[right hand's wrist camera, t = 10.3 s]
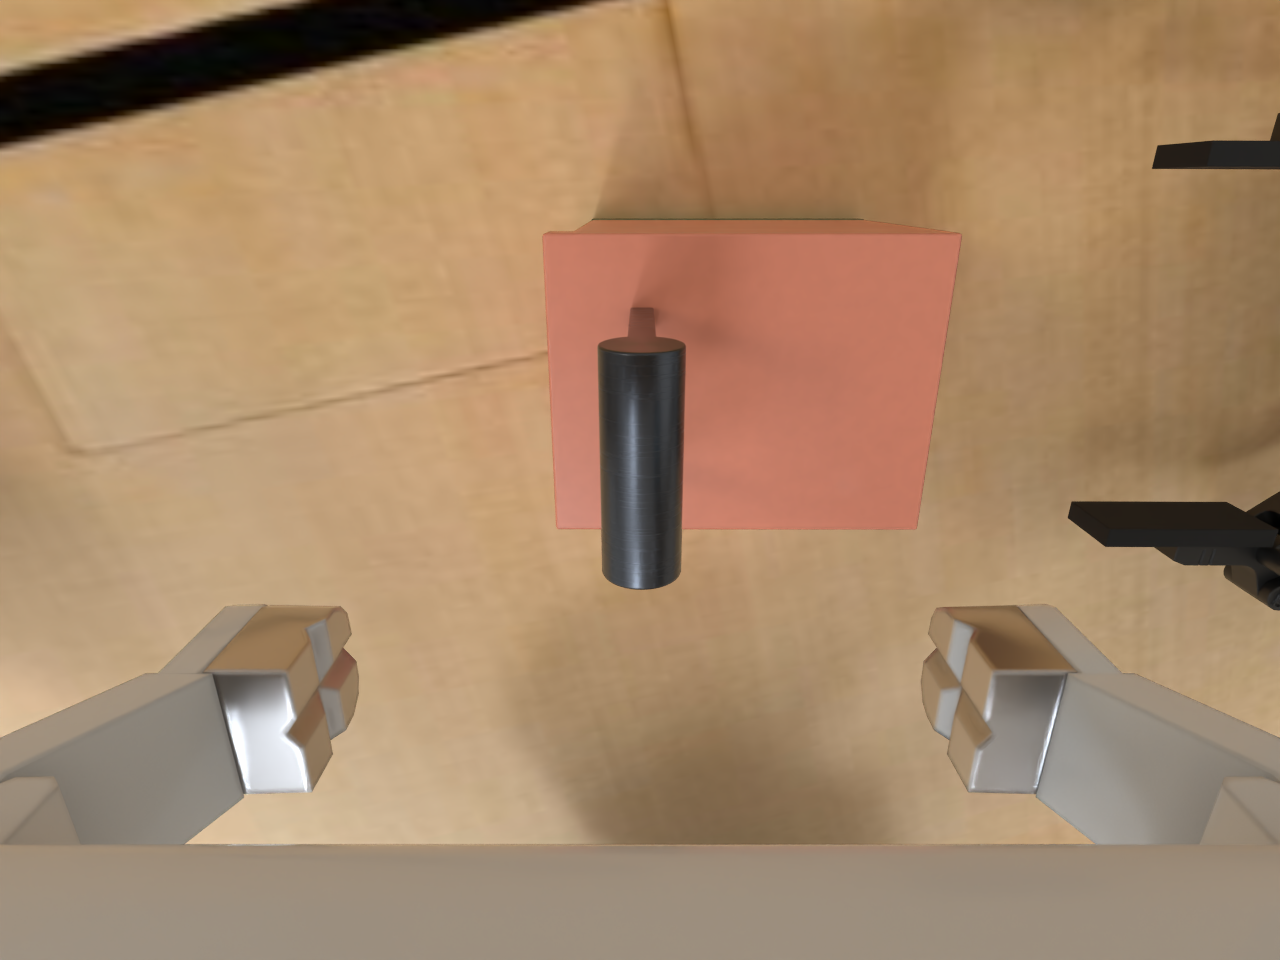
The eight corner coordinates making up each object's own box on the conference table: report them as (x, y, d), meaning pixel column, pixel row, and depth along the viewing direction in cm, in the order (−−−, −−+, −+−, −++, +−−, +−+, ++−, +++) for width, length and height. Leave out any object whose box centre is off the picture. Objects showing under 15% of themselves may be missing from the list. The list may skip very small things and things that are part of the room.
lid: (559, 516, 26) (522, 660, 18) (546, 231, 22) (493, 254, 14) (906, 517, 26) (1023, 661, 18) (949, 231, 22) (1117, 254, 14)
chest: (597, 430, 35) (581, 516, 26) (592, 218, 31) (572, 231, 22) (837, 430, 35) (906, 516, 26) (859, 218, 31) (949, 230, 22)
